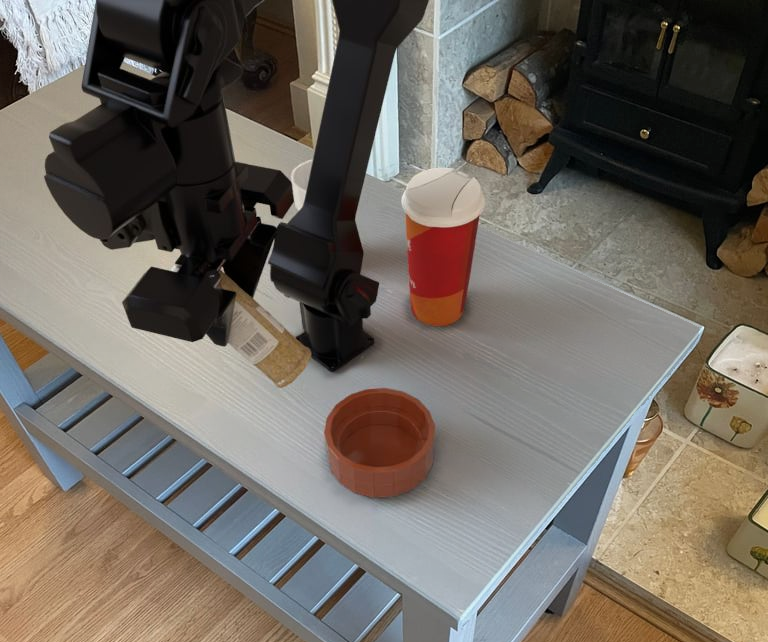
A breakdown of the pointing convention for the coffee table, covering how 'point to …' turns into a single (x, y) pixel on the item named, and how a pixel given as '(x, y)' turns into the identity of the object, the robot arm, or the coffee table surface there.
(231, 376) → the coffee table surface
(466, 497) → the coffee table surface
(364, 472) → the bowl
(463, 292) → the coffee cup
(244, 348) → the sprinkles bottle
